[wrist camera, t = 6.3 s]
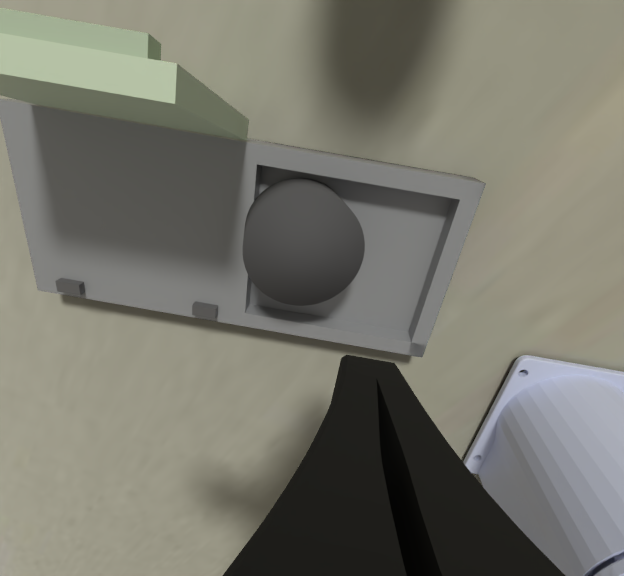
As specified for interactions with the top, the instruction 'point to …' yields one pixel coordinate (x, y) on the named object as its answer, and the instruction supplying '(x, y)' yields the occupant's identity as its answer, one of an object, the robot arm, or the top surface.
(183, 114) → the cover
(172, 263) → the grey ball tray
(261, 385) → the top surface
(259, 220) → the dark grey pebble
